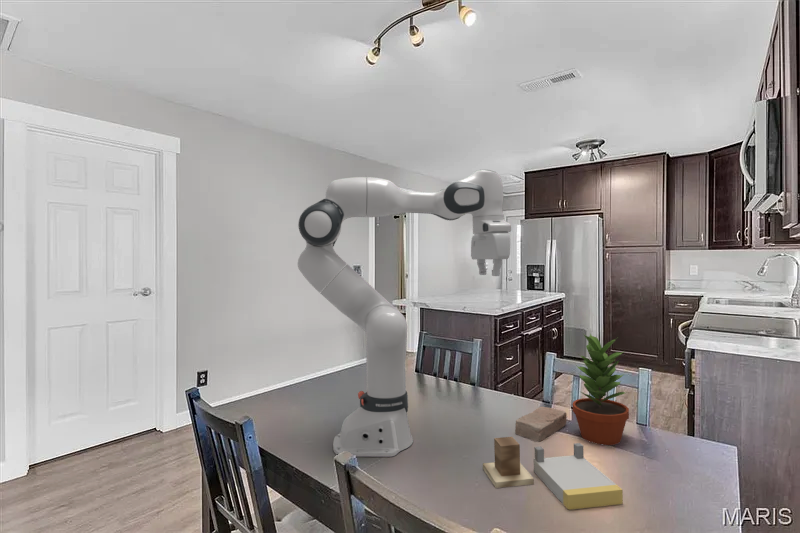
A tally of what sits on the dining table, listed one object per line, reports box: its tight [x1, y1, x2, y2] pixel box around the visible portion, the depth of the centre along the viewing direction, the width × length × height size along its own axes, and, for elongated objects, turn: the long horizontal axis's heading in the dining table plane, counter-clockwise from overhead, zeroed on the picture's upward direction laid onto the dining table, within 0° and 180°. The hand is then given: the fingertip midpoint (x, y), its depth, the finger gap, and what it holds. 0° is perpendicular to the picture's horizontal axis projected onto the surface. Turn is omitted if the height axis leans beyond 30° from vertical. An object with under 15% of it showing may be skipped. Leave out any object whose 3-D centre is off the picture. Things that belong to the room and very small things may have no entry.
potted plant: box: [572, 332, 630, 446], centre depth 121 cm, size 15×15×30 cm
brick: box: [514, 406, 568, 443], centre depth 127 cm, size 16×8×5 cm, turn 133°
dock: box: [533, 442, 624, 511], centre depth 96 cm, size 12×16×6 cm
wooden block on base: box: [482, 436, 535, 489], centre depth 101 cm, size 9×9×8 cm
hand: (489, 275), depth 123 cm, fingers open, 8 cm apart
